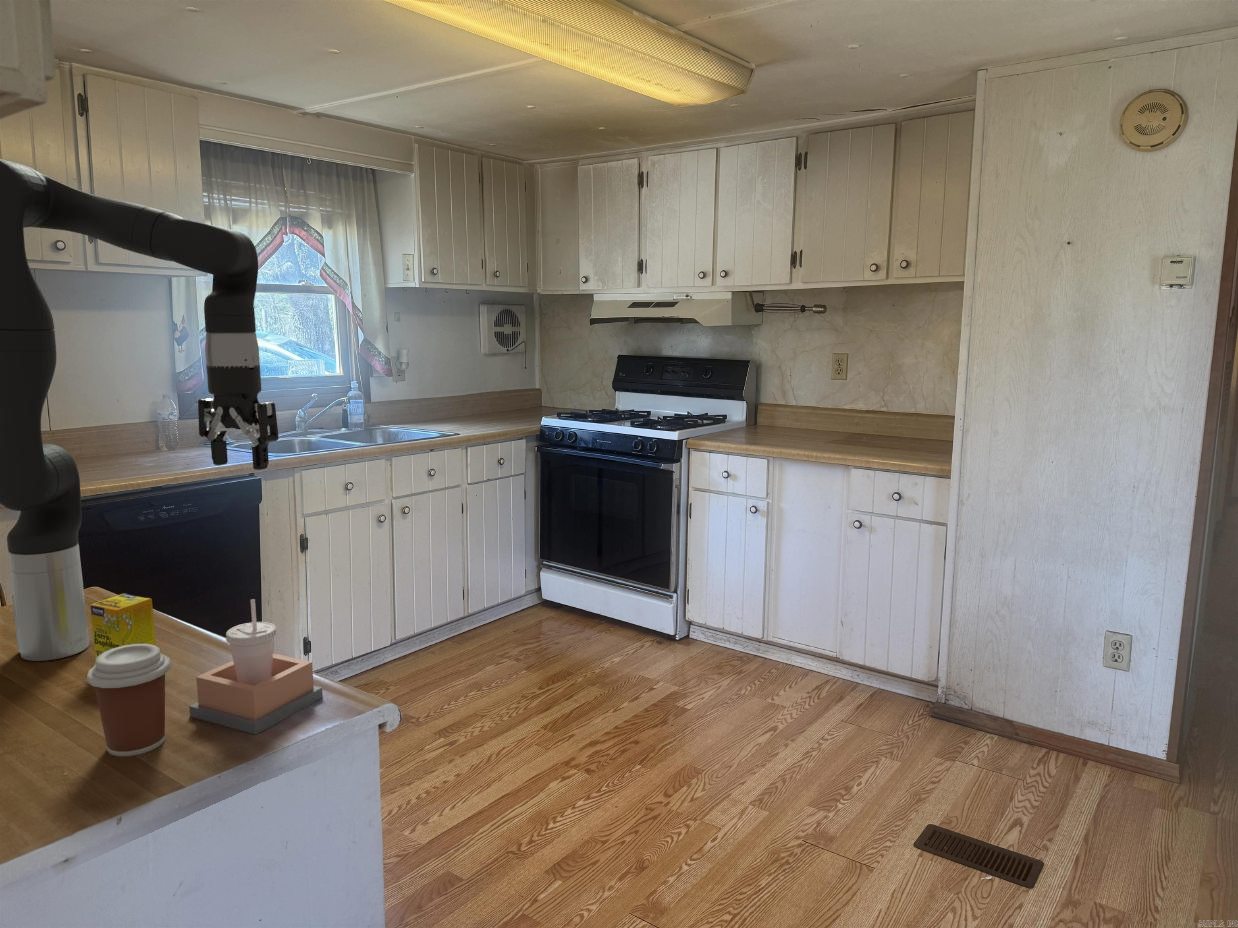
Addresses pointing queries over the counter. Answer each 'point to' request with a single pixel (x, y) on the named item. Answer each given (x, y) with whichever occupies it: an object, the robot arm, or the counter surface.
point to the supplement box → (122, 622)
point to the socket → (255, 695)
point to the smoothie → (252, 649)
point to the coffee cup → (131, 697)
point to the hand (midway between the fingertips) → (240, 466)
